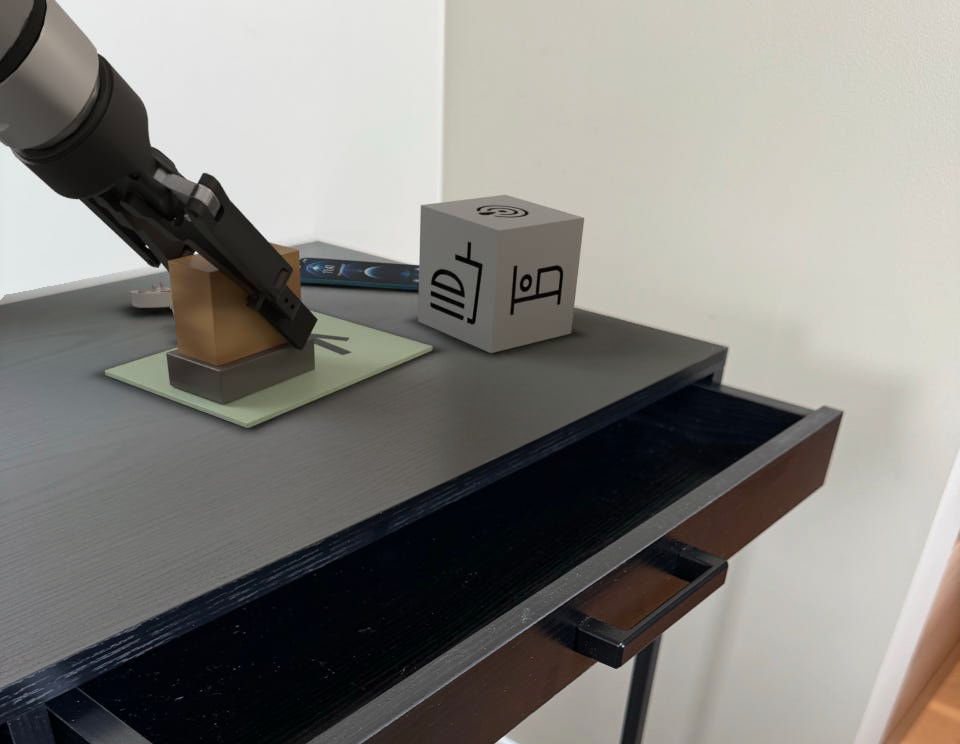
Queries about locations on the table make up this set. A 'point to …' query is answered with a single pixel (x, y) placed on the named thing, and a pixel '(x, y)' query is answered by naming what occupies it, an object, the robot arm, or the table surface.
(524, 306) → the icon cube
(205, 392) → the eraser
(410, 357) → the marker board
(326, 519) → the table surface
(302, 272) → the smartphone
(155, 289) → the game controller
